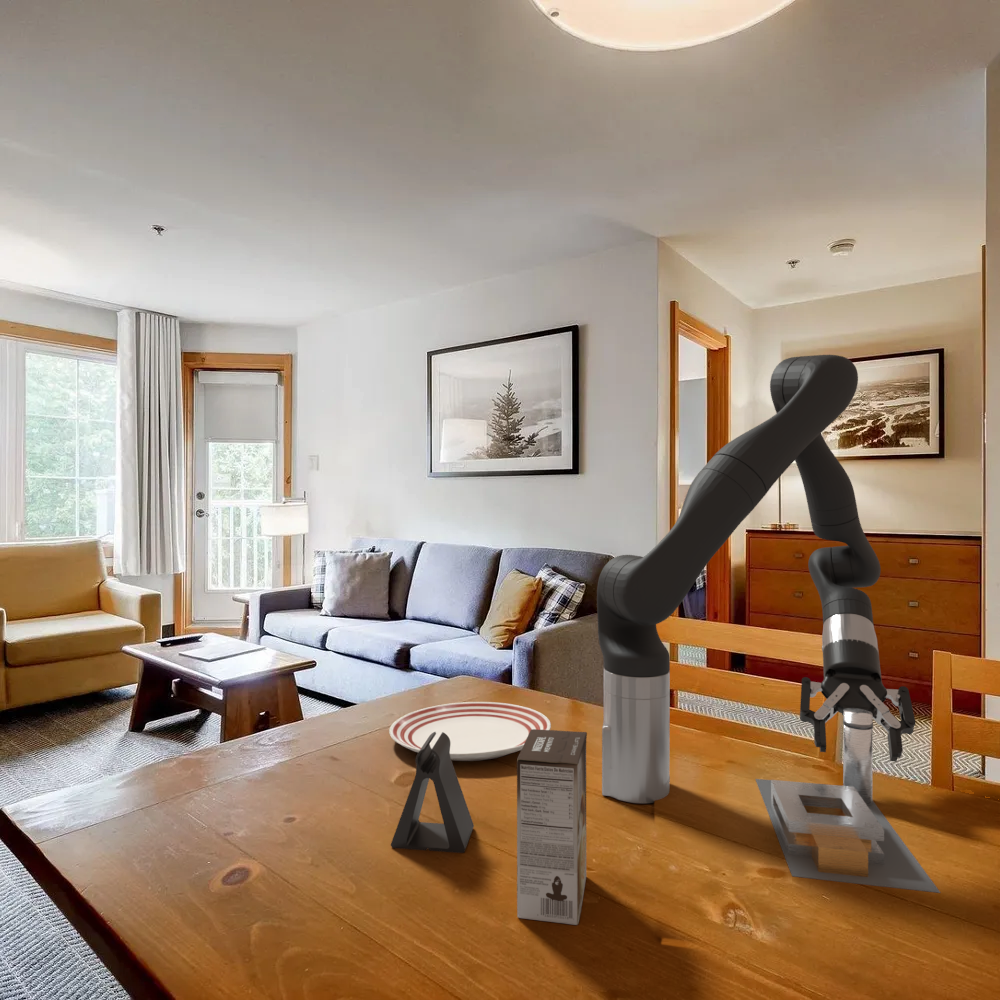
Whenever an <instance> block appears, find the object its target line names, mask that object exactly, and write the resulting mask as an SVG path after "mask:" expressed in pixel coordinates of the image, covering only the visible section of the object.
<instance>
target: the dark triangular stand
mask: <svg viewBox="0 0 1000 1000" xmlns="http://www.w3.org/2000/svg"><path fill="white" fill-rule="evenodd" d="M435 735H436V732H433V733H432V734H431V735H430V736H429V737H428V739H427V740H426V742H425V743H424V745H423V746H422V748H421V749H420V751H419V752H417V754H416V755H415V759H414V760H415V777H414V779H413V781H412V785H411V787H410V790H409V793H408V796H407V798H406V802H405V803H404V807H403V810H402V813H401V815H400V817H399V820H398V824H397V827H396V829H395V832H394V834H393V836H392V837H393V838H392V841H391V844H390V846H391V848H392V849H399V850H400V849H403V850H415V851H427V850H428V851H430V852H431V851H432V852H440V853H441V852H442V853H455V854H457V853H458V854H463V853H465V851H466V849H467V846H468V843H469V840H470V837H471V835H472V832H473V829H474V827H475V825H474V821H473V819H472V816H471V813H470V810H469V807H468V804H467V802H466V799H465V796H464V794H463V790H462V788H461V785H460V782H459V779H458V776H457V773H456V770H455V767H454V765H453V760H451V758H450V739H449V737H448V736H447V735H446V734H445V733H443V732H442V734H441V735H440V737H439V738H438V740H437V742H436V743H435V745H434V746H433V748H432V749H431V747H430V742H431V741H432V739H433V738H434V736H435ZM430 780H431V781H432V783H433V786H434V790H435V794H436V798H437V802H438V805H439V810H440V814H441V817H442V822H443V823H439V822H424V821H423V822H422V821H420V820H419V819H420V815H421V812H422V808H423V804H424V801H425V796H426V792H427V789H428V785H429V781H430Z"/></svg>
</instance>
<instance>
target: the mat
mask: <svg viewBox="0 0 1000 1000" xmlns="http://www.w3.org/2000/svg"><path fill="white" fill-rule="evenodd" d="M771 780H772V779H762V778H761V779H760V778H755V782H756V785H757V787H758V790H759V793H760V796H761V798H762V801H763V803H764V806H765V808H766V812H767V814H768V816H769V819H770V821H771V824H772V827H773V829H774V832H775V834H776V837H777V841H778V842H779V845H780V848H781V851H782V853H783V856H784V858H785V861H786V863H787V866H788V869H789V872H790V875H791V877H794V878H805V879H812V880H821V881H832V882H838V883H847V884H857V885H864V886H865V885H866V886H875V887H883V888H892V889H893V888H894V889H901V890H910V891H918V892H920V891H921V892H929V893H937V894H941V891H940V889H938V887H937V886H936V884H935V883H934V881H932V879H931V878H930V876H929V875H928V874H927V872H926V871H925V869H924V868H923V866H921V864H920V863H919V861H918V859H916V857H915V856H914V855H913V853H912V852H911V851H910V849H909V847H908V846H907V845H906V844H905V843H904V840H902V838H901V837H900V835H899V834H898V833H897V832H896V830H895V829H894V827H893V826H892V824H891V823H890V821H889V820H888V819H887V818H886V816H885V815H884V814H883V812H882V811H881V810H880V808H879V807H878V806H877V804H876V803H875V802H874V800H873V799H872V805H870V806H868V808H869V809H870V810H871V812H872V813H873V815H874V816H875V817H876V819H877V820H878V822H879V823H880V825H881V826H882V827H883V829H884V841H877V840H875V841H876V842H877V844H878V845H879V847H880V848H881V850H882V851H883V853H884V865H877V864H868V877H862V876H852V875H843V874H834V873H825V872H818V870H817V867H816V865H815V863H814V861H813V859H812V858H811V857H802V856H792V855H788V852H787V849H786V847H785V844H784V842H783V839H782V837H781V834H780V832H779V829H778V826H777V824H776V821H775V819H774V816H773V814H772V811H771Z"/></svg>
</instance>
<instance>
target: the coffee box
mask: <svg viewBox="0 0 1000 1000" xmlns="http://www.w3.org/2000/svg"><path fill="white" fill-rule="evenodd" d="M587 735H588V733H587V732H586V731H568V730H554V729H550V730H537V729H532V730H531V731H530V733H529V735H528V737H527V739H526V741H525V744H524V746H523V748H522V750H520V752H519V754H518V756H517V758H516V759H517V760H516V835H517V836H516V869H517V870H516V871H517V872H516V877H517V878H516V907H517V908H516V910H517V911H516V913H517V914H516V916H517V918H519V919H526V920H534V921H540V922H551V923H557V924H565V925H573V926H578V925H579V922H580V918H581V913H582V906H583V899H584V895H585V894H584V893H585V887H586V882H587V881H586V880H587Z"/></svg>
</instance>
